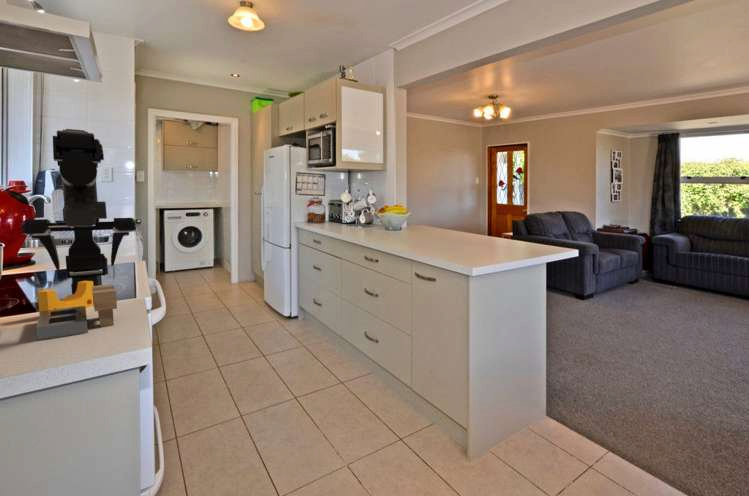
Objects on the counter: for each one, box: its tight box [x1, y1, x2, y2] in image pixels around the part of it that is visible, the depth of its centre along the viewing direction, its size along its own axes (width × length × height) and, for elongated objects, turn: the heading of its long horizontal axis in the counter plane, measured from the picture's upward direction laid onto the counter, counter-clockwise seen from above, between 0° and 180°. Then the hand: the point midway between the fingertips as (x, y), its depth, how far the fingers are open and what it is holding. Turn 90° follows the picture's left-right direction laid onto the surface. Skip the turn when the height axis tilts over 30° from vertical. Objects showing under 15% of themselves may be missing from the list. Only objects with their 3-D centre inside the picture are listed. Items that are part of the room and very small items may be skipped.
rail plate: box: [35, 306, 89, 341], centre depth 86 cm, size 14×8×2 cm, turn 37°
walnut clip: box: [92, 283, 118, 328], centre depth 90 cm, size 8×4×8 cm, turn 37°
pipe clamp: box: [37, 281, 94, 314], centre depth 98 cm, size 12×4×6 cm, turn 169°
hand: (86, 267), depth 84 cm, fingers open, 9 cm apart
